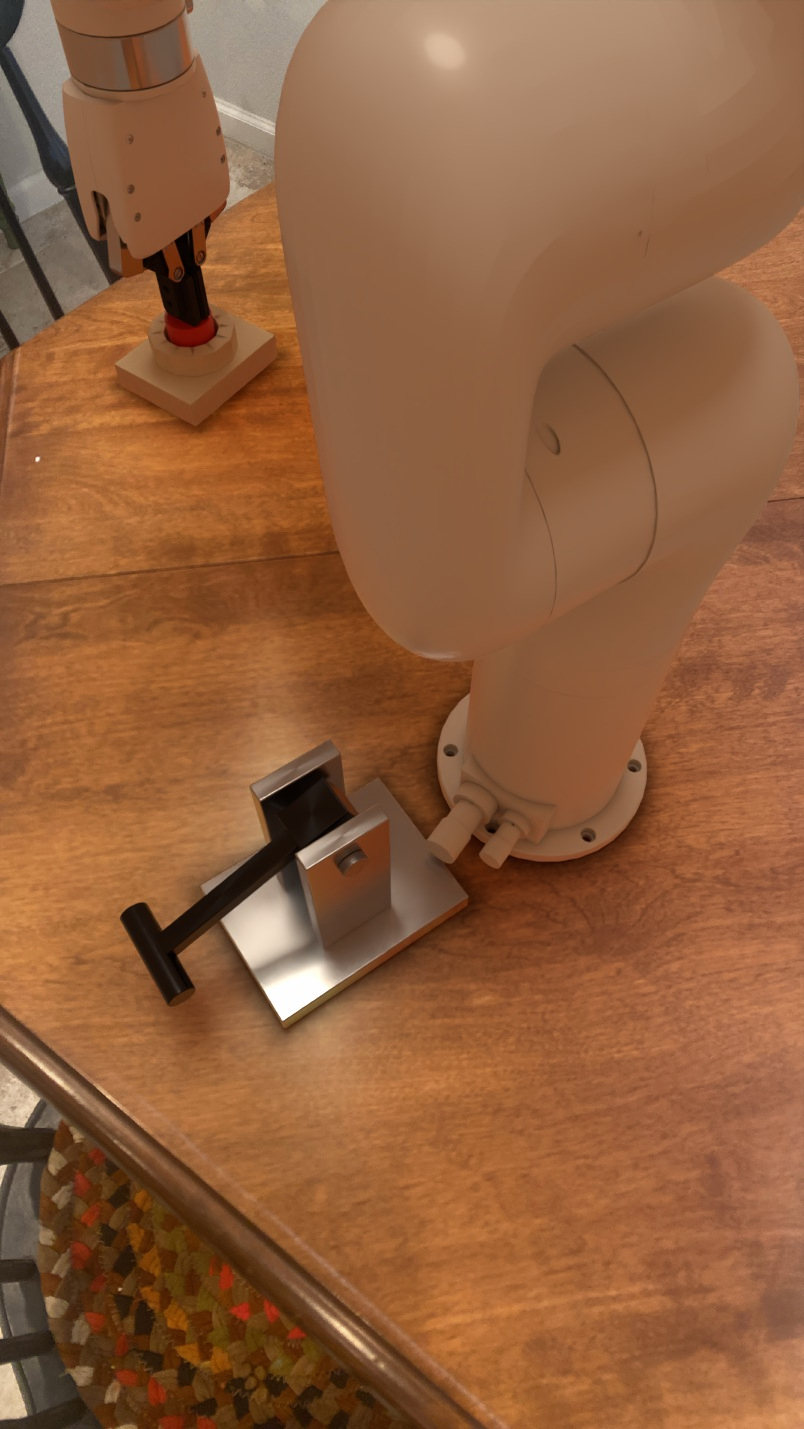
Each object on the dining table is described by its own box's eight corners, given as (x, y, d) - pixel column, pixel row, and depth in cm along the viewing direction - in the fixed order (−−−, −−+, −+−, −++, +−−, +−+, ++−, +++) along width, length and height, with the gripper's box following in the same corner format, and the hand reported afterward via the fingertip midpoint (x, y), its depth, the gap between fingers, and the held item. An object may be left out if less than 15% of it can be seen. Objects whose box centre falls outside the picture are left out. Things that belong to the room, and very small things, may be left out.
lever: (183, 1008, 44) (156, 1007, 42) (135, 923, 47) (107, 917, 44) (382, 845, 44) (365, 835, 42) (325, 767, 46) (306, 753, 44)
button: (193, 355, 72) (189, 336, 71) (159, 337, 73) (154, 318, 72) (225, 330, 74) (221, 311, 72) (190, 313, 75) (186, 293, 73)
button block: (195, 427, 73) (185, 385, 70) (120, 386, 76) (107, 343, 72) (278, 357, 77) (272, 314, 74) (204, 320, 80) (195, 277, 76)
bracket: (284, 1029, 50) (252, 958, 39) (203, 895, 54) (152, 795, 43) (467, 905, 53) (485, 808, 42) (379, 787, 57) (374, 670, 46)
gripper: (167, -21, 60) (216, 249, 76) (-12, 76, 54) (81, 348, 70) (257, 11, 58) (288, 283, 74) (82, 116, 52) (156, 388, 68)
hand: (188, 314), depth 72 cm, fingers closed
